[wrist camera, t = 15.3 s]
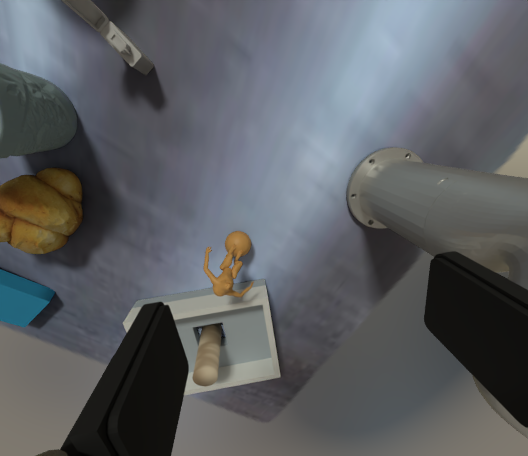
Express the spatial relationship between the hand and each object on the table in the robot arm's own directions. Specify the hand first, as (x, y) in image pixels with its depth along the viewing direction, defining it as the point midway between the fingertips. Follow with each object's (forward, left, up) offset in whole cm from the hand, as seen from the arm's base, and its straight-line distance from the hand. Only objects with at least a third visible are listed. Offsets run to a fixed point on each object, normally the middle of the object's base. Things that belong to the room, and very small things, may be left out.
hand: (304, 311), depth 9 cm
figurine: (+5, +10, -31) cm, 32 cm away
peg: (+12, +26, -30) cm, 42 cm away
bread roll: (+29, 0, -31) cm, 42 cm away
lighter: (+13, -18, -31) cm, 38 cm away
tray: (+12, +26, -30) cm, 42 cm away
